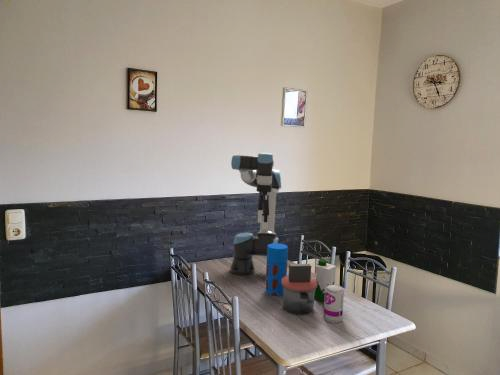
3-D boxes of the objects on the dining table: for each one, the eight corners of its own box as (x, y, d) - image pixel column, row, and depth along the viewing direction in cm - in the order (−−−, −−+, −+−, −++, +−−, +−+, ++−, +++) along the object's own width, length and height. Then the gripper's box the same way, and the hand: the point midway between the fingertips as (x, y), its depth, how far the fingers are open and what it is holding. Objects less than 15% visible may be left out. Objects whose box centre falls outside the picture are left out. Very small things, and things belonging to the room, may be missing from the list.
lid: (277, 277, 183) (278, 259, 182) (310, 277, 186) (311, 259, 185) (286, 291, 167) (287, 271, 165) (322, 290, 169) (323, 270, 168)
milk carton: (320, 294, 195) (322, 257, 192) (335, 299, 189) (338, 262, 186) (311, 299, 188) (313, 261, 186) (326, 304, 182) (329, 265, 180)
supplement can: (332, 325, 162) (334, 292, 160) (319, 317, 169) (321, 285, 167) (345, 320, 166) (347, 289, 164) (332, 313, 173) (334, 282, 171)
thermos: (284, 297, 190) (286, 249, 187) (263, 294, 192) (265, 247, 189) (286, 289, 200) (289, 244, 197) (267, 286, 203) (269, 242, 200)
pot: (277, 299, 187) (278, 276, 185) (307, 298, 189) (308, 276, 188) (287, 318, 166) (288, 293, 165) (320, 317, 168) (322, 292, 167)
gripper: (253, 181, 197) (251, 220, 199) (260, 186, 172) (259, 231, 175) (267, 181, 198) (265, 220, 200) (276, 187, 173) (274, 231, 176)
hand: (262, 225), depth 188 cm, fingers open, 13 cm apart
